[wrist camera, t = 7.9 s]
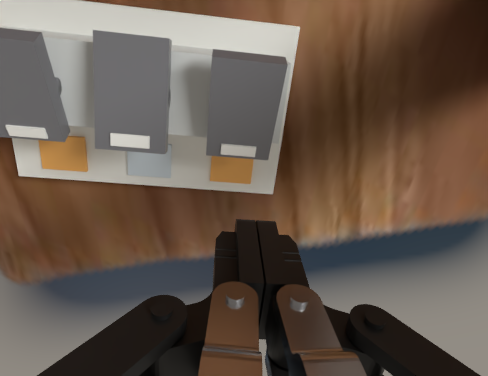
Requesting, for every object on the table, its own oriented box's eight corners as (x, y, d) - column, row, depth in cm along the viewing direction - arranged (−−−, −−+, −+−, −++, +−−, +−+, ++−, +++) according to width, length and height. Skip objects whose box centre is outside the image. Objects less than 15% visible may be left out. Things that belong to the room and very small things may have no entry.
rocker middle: (173, 41, 23) (169, 38, 21) (168, 149, 25) (164, 154, 23) (102, 33, 22) (91, 29, 21) (103, 143, 24) (94, 149, 23)
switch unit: (295, 26, 28) (312, 29, 23) (270, 184, 34) (279, 217, 29) (0, -10, 26) (-58, -15, 21) (30, 166, 32) (-9, 197, 27)
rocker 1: (45, 27, 20) (32, 43, 19) (73, 126, 26) (64, 143, 24) (-37, 18, 20) (-56, 33, 19) (8, 120, 25) (-5, 138, 24)
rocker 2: (284, 53, 22) (288, 66, 21) (266, 145, 27) (268, 161, 25) (213, 45, 22) (211, 57, 20) (207, 140, 26) (205, 156, 25)
